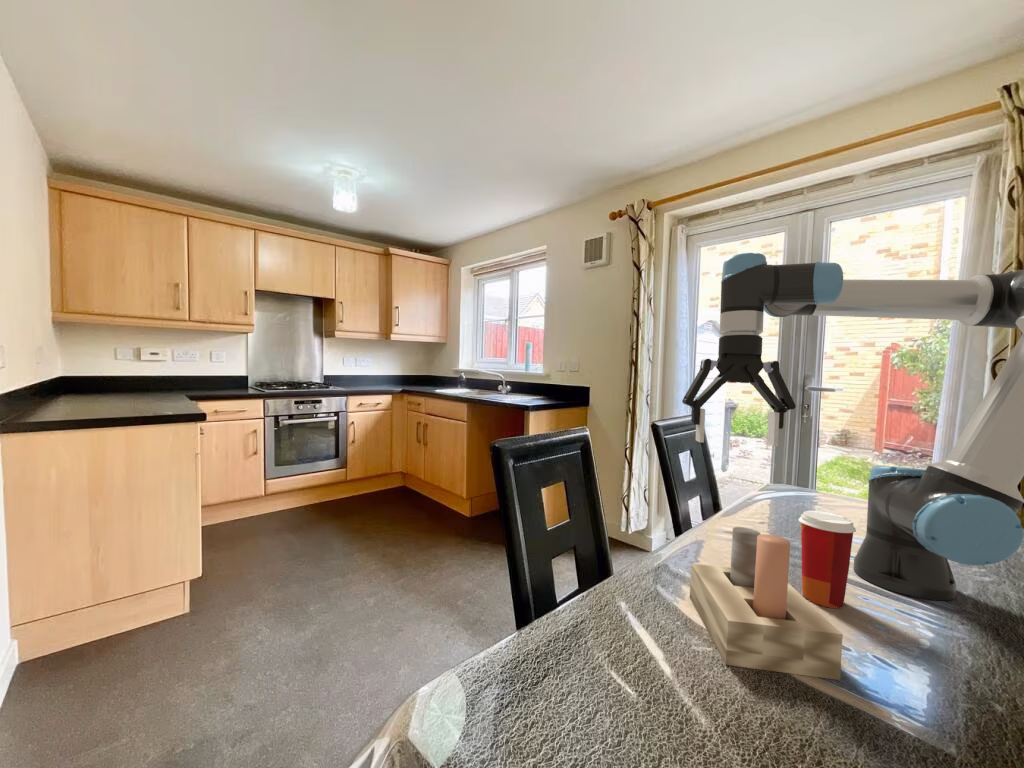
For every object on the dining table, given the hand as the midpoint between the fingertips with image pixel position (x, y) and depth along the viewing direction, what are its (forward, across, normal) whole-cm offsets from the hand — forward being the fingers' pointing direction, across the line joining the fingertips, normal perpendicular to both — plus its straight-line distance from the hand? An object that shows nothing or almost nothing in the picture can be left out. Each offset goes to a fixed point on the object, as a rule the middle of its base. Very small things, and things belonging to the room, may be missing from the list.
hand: (735, 443), depth 84 cm
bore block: (+26, +4, +19) cm, 33 cm away
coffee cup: (+27, -14, +6) cm, 31 cm away
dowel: (+24, +4, +24) cm, 34 cm away
